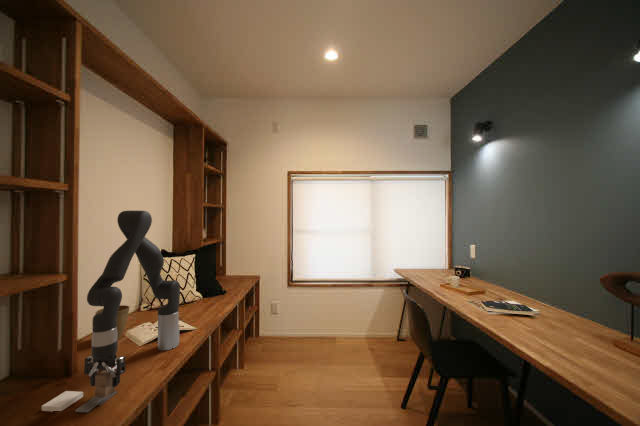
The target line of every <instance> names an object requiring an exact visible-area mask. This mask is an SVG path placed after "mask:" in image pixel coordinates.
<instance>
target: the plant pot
mask: <svg viewBox="0 0 640 426" xmlns="http://www.w3.org/2000/svg"><path fill="white" fill-rule="evenodd" d="M102 311H103V308H100V309H98V310H96V311H95V312H94V313H95V314H94V315H96V314H97V313H100V312H102ZM129 313H130V306H129V305H127V304H126V305H125V304H122V305H121V304H120V306H119V310H118V313H117V332H118V340H120V339H121V337H122V336H123V333H124V331H125V329H126V328H125V327H126V325H127V322H128V318H129Z"/></svg>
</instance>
